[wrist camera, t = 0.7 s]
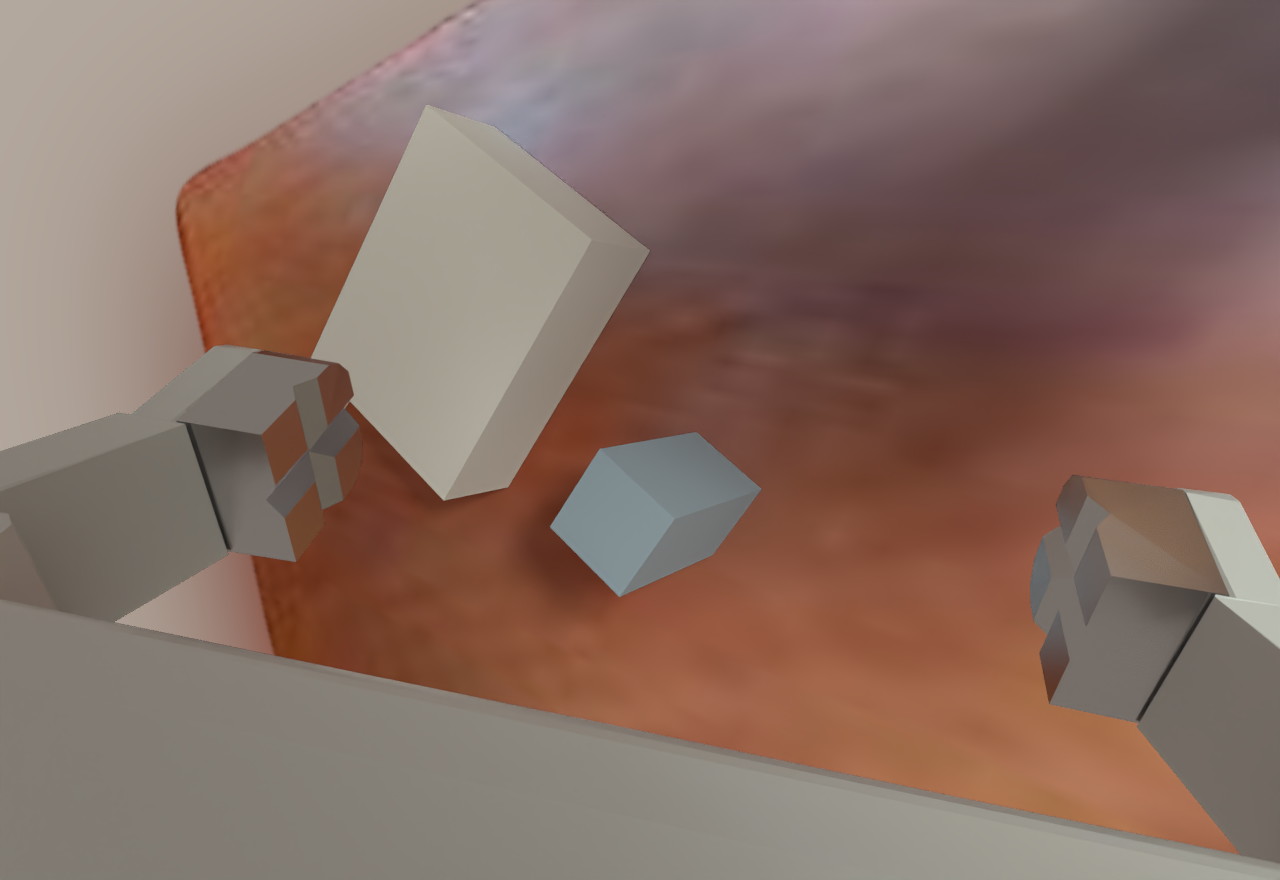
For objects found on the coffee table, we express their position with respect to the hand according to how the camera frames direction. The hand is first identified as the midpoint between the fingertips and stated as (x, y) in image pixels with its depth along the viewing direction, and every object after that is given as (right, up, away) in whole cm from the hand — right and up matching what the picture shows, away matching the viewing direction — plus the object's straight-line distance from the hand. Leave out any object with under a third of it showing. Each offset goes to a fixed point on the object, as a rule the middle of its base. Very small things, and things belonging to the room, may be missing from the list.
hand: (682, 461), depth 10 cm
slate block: (+3, -3, +40) cm, 41 cm away
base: (-9, +8, +47) cm, 48 cm away
